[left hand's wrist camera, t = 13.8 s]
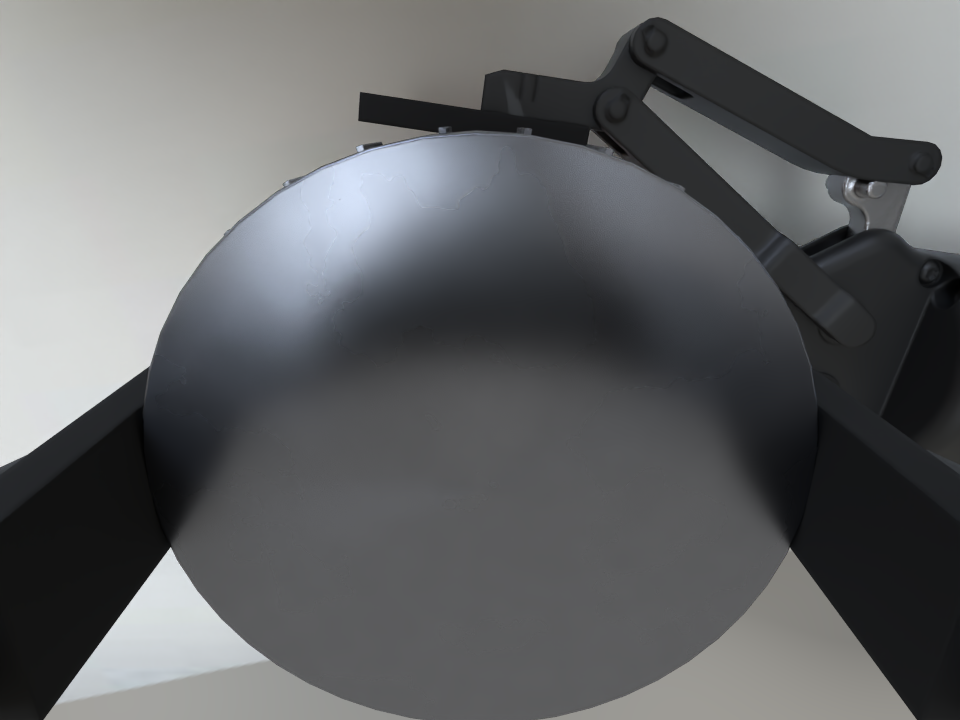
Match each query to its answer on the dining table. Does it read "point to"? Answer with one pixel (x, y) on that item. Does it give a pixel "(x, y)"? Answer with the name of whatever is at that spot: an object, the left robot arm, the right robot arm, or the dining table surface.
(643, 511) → the lid
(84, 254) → the dining table surface
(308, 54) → the dining table surface
